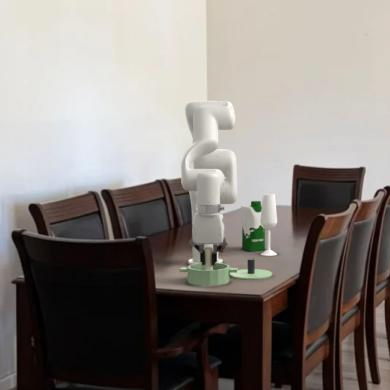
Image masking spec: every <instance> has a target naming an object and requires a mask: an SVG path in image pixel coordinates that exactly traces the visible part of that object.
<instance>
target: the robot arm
mask: <svg viewBox="0 0 390 390" xmlns="http://www.w3.org/2000/svg"><path fill="white" fill-rule="evenodd" d="M184 115H185V121H186V124H187V127H188V129H189V131H190V135H191V139H192V145H191V146H190V147H189V148H188V149H187V150H186V151H185V152H184V155H183V156H182V159H181V164H180V180H181V187H182V188H183V190H185V191H186V192H189V198H190V204H191V205H190V206H191V236H192V237H191V238H190V240H189V242H188V245H189V247H190V246H191V247H192V249H191V250H192V254H191V255H192V258H190V259H188V260H187V264H188V266H189V265H192V264H197V263H202V265H205V248H206V247H212V248H213V253H212V265H215V263H223V261H224V260H223V259H222V258H219V252H220V251H219V250H220V249H221V248H223V247H225V246H226V247H227V246H228V245H229V242H228V239H227V237H226V234H225V221H224V220H225V219H224V215H223V212H221V211H225V206H224V205H232V204H235V203H236V202H237V199H238V193H239V191H238V161H237V156H236V153H235V151H233V150H232V149H222V148H221V149H220V148H219V144H220V142H219V131H231V130H233V129H234V127H235V125H236V113H235V109H234V105H233V103H232V102H230V101H228V100H193V101H190V102H189V101H188V102H187V103H186V105H185V107H184ZM218 148H219V149H218ZM191 164H192V166H193V167H192V168H190V166H191ZM225 237H226V238H225ZM226 239H227V240H226ZM222 242H223V243H222ZM221 243H222V244H221ZM218 244H220V245H219V246H218ZM226 247H225V248H226Z"/></svg>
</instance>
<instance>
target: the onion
mask: <svg viewBox="0 0 390 390" xmlns="http://www.w3.org/2000/svg"><path fill="white" fill-rule="evenodd" d="M225 238H226V240H227V241H228V239H227V237H226V236H225ZM222 243H223V242H222ZM222 243H221V244H222ZM219 245H220V244H218V246H219ZM226 247H227V246H225V247H223V248H221V249H220V250H219V251H218V252H222V251H223V250H224V249H225V248H226Z"/></svg>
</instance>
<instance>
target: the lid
mask: <svg viewBox="0 0 390 390" xmlns="http://www.w3.org/2000/svg"><path fill="white" fill-rule="evenodd" d="M255 261H256V259H255V258H253V257H250V258H247V268H245V269H244V268H243V269H238V271H237V272H230V277H231V278H233V279H237V280H247V281H248V280H249V281H250V280H251V281H253V280H263V279H268V278H270V277H272V276H273V272H272V271H270V270H268V269H259V268H258V269H257V268H255V266H256V264H255V263H256V262H255Z"/></svg>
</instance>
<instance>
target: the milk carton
mask: <svg viewBox="0 0 390 390" xmlns="http://www.w3.org/2000/svg"><path fill="white" fill-rule="evenodd" d="M240 209H241V210H240V211H241V237H242V238H241V239H242V240H241V249H242V250H244V251H247V252H258V251H266V229H265V228H264V227H263V226H262V224H261V223H260V220H261V209H262V200H251V201H250V204H247V205H246V204H245V205H240Z"/></svg>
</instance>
